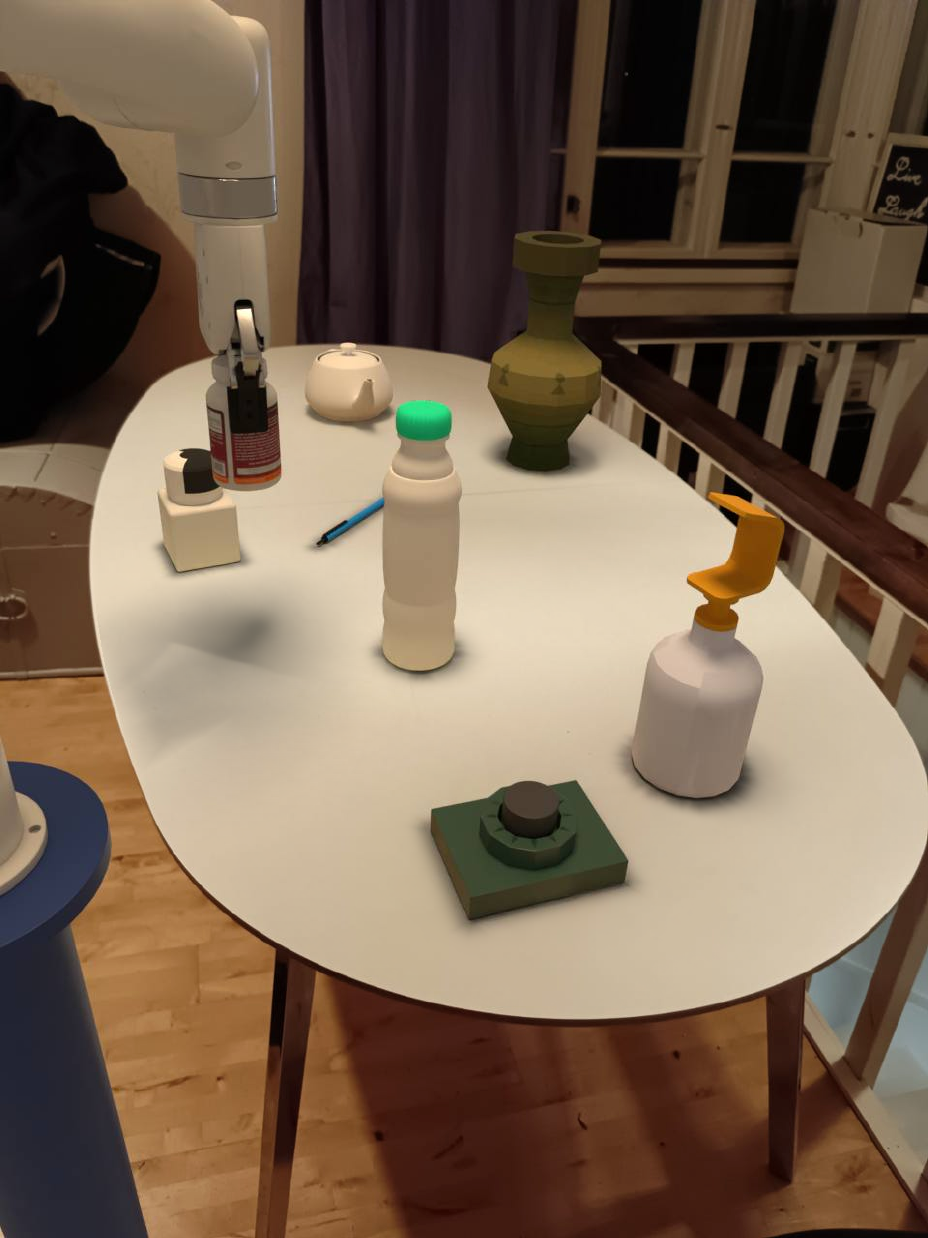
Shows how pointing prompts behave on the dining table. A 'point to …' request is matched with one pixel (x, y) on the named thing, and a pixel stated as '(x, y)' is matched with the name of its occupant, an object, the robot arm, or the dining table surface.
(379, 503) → the pen
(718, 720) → the soap bottle
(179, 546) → the medicine bottle
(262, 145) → the robot arm
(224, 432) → the pill bottle
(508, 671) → the dining table surface
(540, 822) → the brown push button
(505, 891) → the green button base
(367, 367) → the teapot
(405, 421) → the water bottle
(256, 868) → the dining table surface
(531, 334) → the vase
